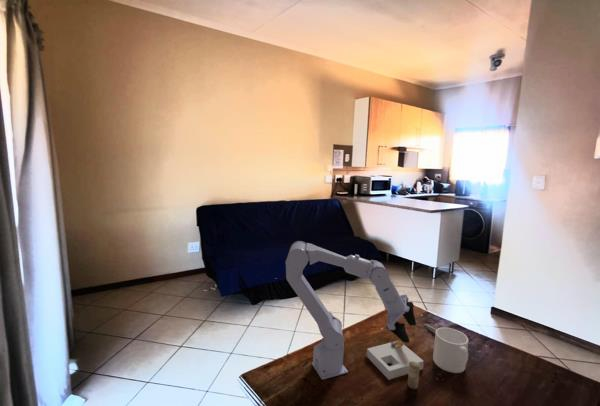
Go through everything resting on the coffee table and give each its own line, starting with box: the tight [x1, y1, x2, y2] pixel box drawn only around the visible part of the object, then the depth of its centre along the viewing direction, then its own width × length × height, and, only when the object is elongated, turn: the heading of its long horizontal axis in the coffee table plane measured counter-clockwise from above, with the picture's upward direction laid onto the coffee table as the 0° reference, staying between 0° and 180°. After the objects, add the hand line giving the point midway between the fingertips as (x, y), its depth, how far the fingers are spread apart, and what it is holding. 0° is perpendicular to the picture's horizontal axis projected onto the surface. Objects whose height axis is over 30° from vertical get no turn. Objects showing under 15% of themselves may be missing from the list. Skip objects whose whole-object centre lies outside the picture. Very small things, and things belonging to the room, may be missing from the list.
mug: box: [432, 327, 469, 374], centre depth 100 cm, size 13×10×10 cm
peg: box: [407, 361, 421, 390], centre depth 91 cm, size 3×3×7 cm
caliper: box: [422, 323, 438, 334], centre depth 115 cm, size 20×1×6 cm, turn 11°
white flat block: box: [366, 339, 425, 381], centre depth 101 cm, size 14×12×4 cm
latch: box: [394, 336, 415, 345], centre depth 103 cm, size 2×8×1 cm
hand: (409, 332), depth 94 cm, fingers open, 7 cm apart
